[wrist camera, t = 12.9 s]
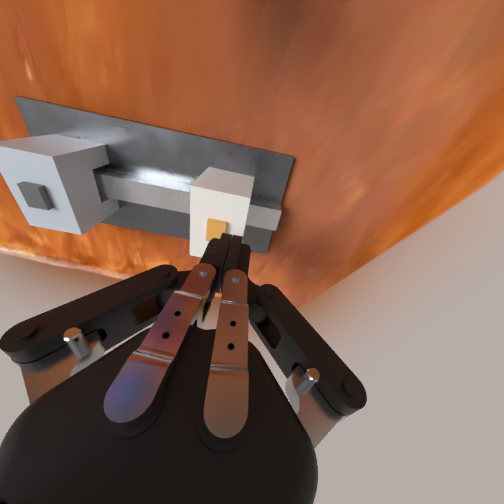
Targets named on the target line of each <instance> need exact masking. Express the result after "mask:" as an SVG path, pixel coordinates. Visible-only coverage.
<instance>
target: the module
mask: <svg viewBox="0 0 504 504" xmlns="http://www.w3.org/2000/svg"><path fill="white" fill-rule="evenodd" d="M254 178H255V177H253V176H249V175H244V174H240V173H235V172H230V171H226V170H221V169H217V168H212V167H208V168H207V169H206V170H205V171H204V172H203V173H202V174H201V175H200V176H199V177H198V178H197V179H196V180H195V181H194V182H193V183H192V184H191V185H190V255H192V256H197V257H202V256H203V254H204V252H205V249H206V247H207V245H208V243H209V241H210V240H211V239H213V238H218V239H220V237H221V235H222V232H223V233H228V234H232V237H233V235H238V236H243V234H244V229H245V224H246V219H247V214H248V209H249V204H250V199H251V194H252V189H253V183H254Z"/></svg>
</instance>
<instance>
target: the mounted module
mask: <svg viewBox="0 0 504 504" xmlns="http://www.w3.org/2000/svg"><path fill="white" fill-rule="evenodd" d="M107 164H109V160H108V156H107V151H106V147H105V144H100V143H95V142H91V141H86V140H81V139H76V138H72V137H67V136H62V135H58V134H50V135H43V136H35V137H27V138H19V139H11V140H4V141H0V172H1V174H2V176H3V177H4V179H5V181H6V183H7V185H8V187H9V188H10V190H11V192H12V194H13V196H14V198H15V199H16V201H17V203H18V205H19V207H20V209H21V210H22V212H23V214H24V216H25V218H26V220H27V221H28V223H29V225H31V226H37V227H42V228H47V229H53V230H58V231H64V232H69V233H74V234H80V235H83V234H84V233H85V232H87V231H88V230H90V229H91V228H93V227H94V226H96V225H97V224H98V223H100V222H101V221H103V220H104V219H106V218H107V217H109V216H110V215H112V214H113V213H114V212H116V211H117V210H119V204H118V200H117V199H112V198H107V197H102V196H100V195H99V192H98V188H97V185H96V181H95V178H94V174H93V169H95V168H98V167H101V166H104V165H107Z"/></svg>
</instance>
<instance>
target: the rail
mask: <svg viewBox="0 0 504 504" xmlns="http://www.w3.org/2000/svg"><path fill="white" fill-rule="evenodd" d="M14 98H15V100H16V103H17V105H18V107H19V110H20V112H21V115H22V117H23V119H24V122H25V124H26V127H27V129H28V131H29V134H30V136H31V137H35V136H43V135H50V134H58V135H62V136H67V137H72V138H76V139H81V140H86V141H91V142H95V143H100V144H105V147H106V151H107V156H108V160H109V164H107V165H104V166H101V167H98V168H95V169H93V174H94V178H95V181H96V185H97V188H98V192H99V195H100V196H102V197H107V198H112V199H117V200H118V204H119V210H117V211H116V212H114V213H113V214H112V215H110V216H109V217H107V218H106V219H104V220H103V221H101V222H100V223H106V224H111V225H116V226H121V227H127V228H132V229H137V230H143V231H148V232H153V233H158V234H164V235H169V236H174V237H179V238H185V239H190V185H191V184H192V183H193V182H194V181H195V180H196V179H197V178H198V177H199V176H200V175H201V174H202V173H203V172H204V171H205V170H206V169H207V168H208V167H212V168H217V169H221V170H226V171H230V172H235V173H240V174H244V175H249V176H253V177H255V178H254V183H253V189H252V194H251V199H250V204H249V209H248V214H247V219H246V224H245V229H244V234H243V239H242V243H243V244H248V245H249V246H250V248H251V251H253V252H258V253H264V254H266V253H267V250H268V246H269V243H270V239H271V236H272V232H273V230H274V231H276V229H277V226H278V222H279V219H280V216H281V212H282V209H281V201H282V198H283V194H284V191H285V187H286V184H287V180H288V177H289V173H290V170H291V167H292V163H293V160H294V156H291V155H287V154H282V153H278V152H273V151H269V150H264V149H259V148H255V147H250V146H246V145H241V144H237V143H232V142H228V141H223V140H219V139H214V138H209V137H205V136H200V135H196V134H191V133H187V132H182V131H178V130H173V129H169V128H164V127H160V126H155V125H150V124H146V123H141V122H137V121H132V120H128V119H123V118H119V117H114V116H110V115H105V114H100V113H96V112H91V111H87V110H82V109H78V108H73V107H69V106H64V105H60V104H55V103H51V102H46V101H41V100H37V99H32V98H28V97H23V96H14Z"/></svg>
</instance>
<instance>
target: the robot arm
mask: <svg viewBox="0 0 504 504" xmlns="http://www.w3.org/2000/svg"><path fill="white" fill-rule="evenodd" d="M242 239H243V236H238V235H233V237H232V234H228V233H223V232H222V235H221V237H220V239H218V238H213V239H211V240H210V241H209V243H208V245H207V247H206V249H205V252H204V254H203V256H202V258H201V261H200V263H199V264H198V265H196V266H194V267H193V269H192V270H190V271H177V269H176V268H175V267H174V266H172V265H160V266H157V267H155V268H152V269H150V270H147V271H145V272H142V273H140V274H137V275H135V276H133V277H130V278H128V279H125V280H123V281H120V282H118V283H116V284H113V285H111V286H108V287H106V288H103V289H101V290H98V291H96V292H94V293H91V294H89V295H86V296H84V297H81V298H79V299H76V300H74V301H71V302H69V303H67V304H64V305H62V306H59V307H57V308H54V309H52V310H50V311H47V312H44V313H42V314H40V315H37V316H35V317H32V318H30V319H28V320H25V321H23V322H21V323H18V324H17V325H15V326H13V327H12V328H10V329H9V330H8V331H7V332H6V333H5V334H4V335H3V336H2V337H1V339H0V349H1V350H3V351H4V352H5V353H6V354H7V355H8V356H10V357H11V359H12V361H13V362H14V363H16V364H17V365H18V366H19V367H20V368H21V371H22V375H23V378H24V383H25V386H26V390H27V394H28V398H29V402H30V405H29V406H28V407H27V408H26V409H25V410H24V411H23V412H22V413H21V415H19V417H18V418H17V419H16V420H15V422H14V423H13V424H12V426H11V427H10V429H9V430H8V432H7V433H6V435H5V437H4V439H3V441H2V444H1V446H0V504H313V502H314V498H315V494H316V490H317V483H318V466H317V459H316V454H315V450H314V448H315V447H316V446H317V445H318V444H319V443H320V442H321V440H322V439H323V438H324V437H325V436H326V435H327V434H328V432H329V431H330V430H331V429H332V428H333V427H334V426H335V424H336V423H337V422H339V421H341V420H343V419H344V418H346V417H348V416H349V415H351V414H353V413H354V412H356V411H358V410H359V409H361V408H363V407H364V406H365V404H366V401H367V397H366V391H365V389H364V386H363V385H362V383H361V382H360V381H359V379H358V378H357V377H356V376H355V375H354V373H353V372H352V371H351V370H350V369H349V368H348V367H347V366H346V364H344V362H343V361H342V360H341V359H340V358H339V356H337V354H336V353H335V352H334V351H333V350H332V349H331V347H329V345H328V344H327V343H326V342H325V341H324V340H323V339H322V337H321V336H320V335H319V334H318V333H317V332H316V331H315V329H314V328H313V327H312V326H311V325H310V324H309V323H308V322H307V320H306V319H305V318H304V317H303V316H302V315H301V314H300V313H299V311H298V310H297V309H296V308H295V307H294V306H293V305H292V304H291V302H290V301H289V300H288V299H287V298H286V297H285V296H284V295H283V293H282V292H281V291H280V290H279V289H278V288H277V287H275V286H274V285H271V284H264V285H261V286H258V285H256V284H254V283H253V282H251V281H250V279H249V278H248V268H249V260H250V253H251V248H250V246H249V245H248V244H243V243H242ZM220 288H221V291H220ZM216 292H217V293H219V292H220V293H222V296H221V302H220V309H219V316H218V321H217V328H216V329H211V330H204V329H203V325H204V323H205V320H206V318H207V315H208V313H209V310H210V308H211V305H212V302H213V298H214V296H215V293H216ZM248 319H249V320H250V324H251V325H252V327H253V328H254V330H255V331H256V333H257V334H258V336H259V337H260V339H261V340H262V342H263V343H264V345H265V346H266V348H267V349H268V351H269V352H270V354H271V355H272V357H273V358H274V360H275V361H276V363H277V364H278V366H279V367H280V369H281V370H282V372H283V373H284V375H285V376H286V378H287V381H286V385H285V388H286V393H287V396H288V398H289V400H290V403H291V404H290V403H289V401H288V399H287V397H286V396H285V394H284V392H283V391H282V389H281V387H280V386H279V384H278V382H277V381H276V379H275V377H274V376H273V374H272V372H271V370H270V369H269V367H268V365H267V364H266V362H265V360H264V358H263V357H262V355H261V353H260V352H259V351H258V349H257V348H256V347H255V346H254V345H253V344H252V343H251V342H249V341H248ZM154 322H155V323H154ZM152 323H154V324H153V326H152V327H151V328H148V329H146V330H144V331H142V332H140V333H139V334H137V335H136V336H134V337H132V338H131V339H129V340H128V341H126V342H125V343H123V344H122V345H120V346H118V347H117V348H115V349H114V350H112V351H110V352H109V353H107V354H106V355H104V353H105V351H106V350H108V349H110V348H111V347H113V346H115V345H116V344H118V343H120V342H122V341H123V340H125V339H127V338H128V337H130V336H132V335H133V334H135V333H137V332H138V331H140V330H142V329H143V328H145V327H147V326H149V325H150V324H152ZM103 355H104V356H103Z"/></svg>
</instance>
